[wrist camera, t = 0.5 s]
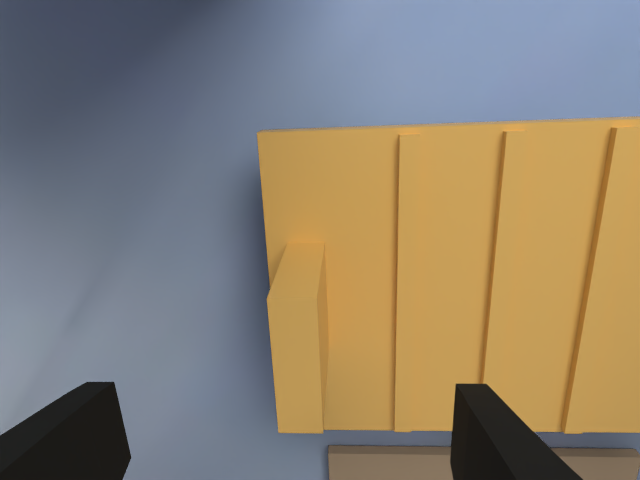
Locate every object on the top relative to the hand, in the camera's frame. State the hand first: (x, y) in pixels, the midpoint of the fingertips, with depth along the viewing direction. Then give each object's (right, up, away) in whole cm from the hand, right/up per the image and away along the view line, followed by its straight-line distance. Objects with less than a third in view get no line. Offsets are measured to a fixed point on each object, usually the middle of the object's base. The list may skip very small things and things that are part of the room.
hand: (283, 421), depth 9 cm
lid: (+7, +2, +7) cm, 10 cm away
